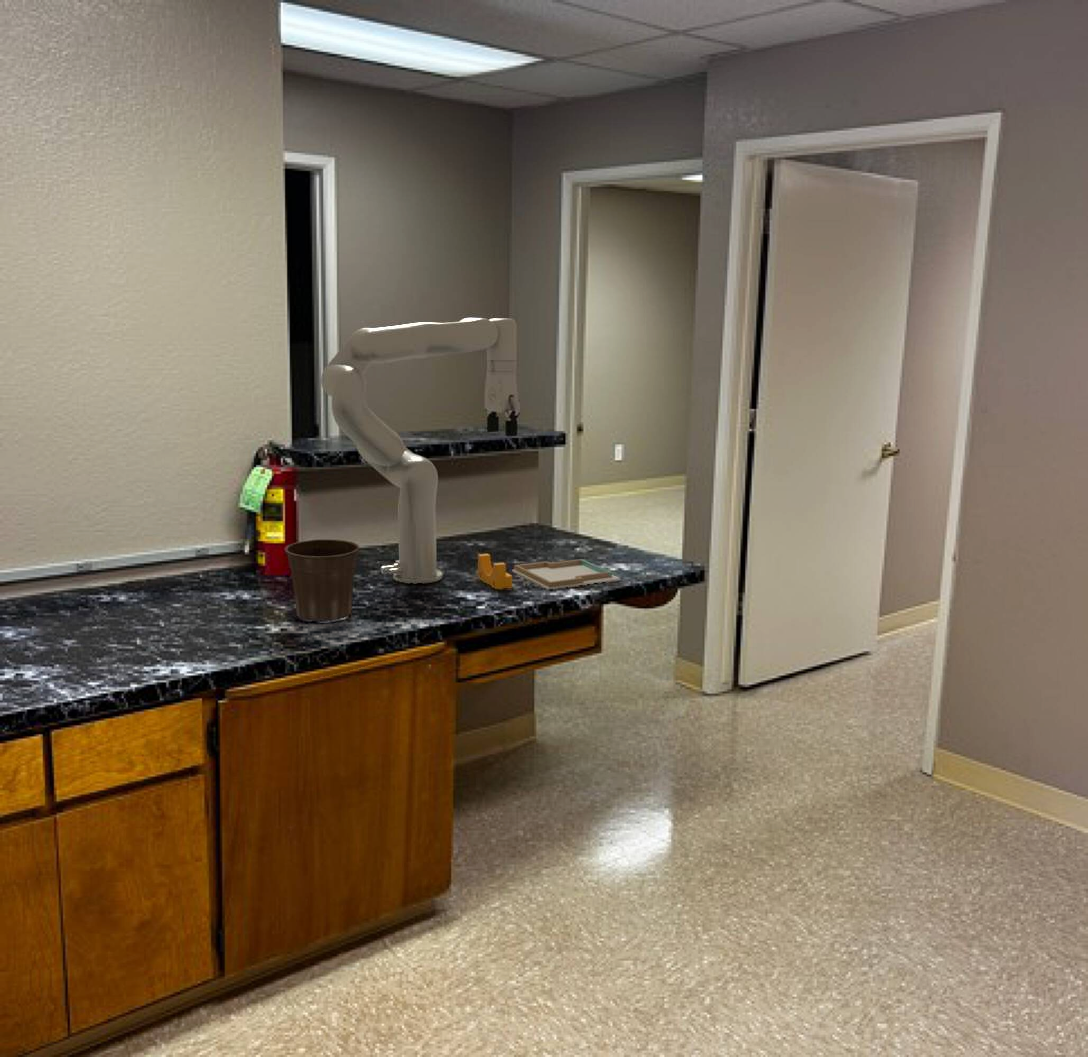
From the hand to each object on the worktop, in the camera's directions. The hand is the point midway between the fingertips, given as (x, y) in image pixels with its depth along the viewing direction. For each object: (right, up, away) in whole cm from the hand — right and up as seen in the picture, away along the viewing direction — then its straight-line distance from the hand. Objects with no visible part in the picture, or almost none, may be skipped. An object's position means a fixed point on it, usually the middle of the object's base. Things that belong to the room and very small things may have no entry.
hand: (502, 433), depth 280 cm
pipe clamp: (-1, -39, -7) cm, 39 cm away
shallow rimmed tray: (+17, -37, 0) cm, 40 cm away
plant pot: (-39, -45, -36) cm, 69 cm away
